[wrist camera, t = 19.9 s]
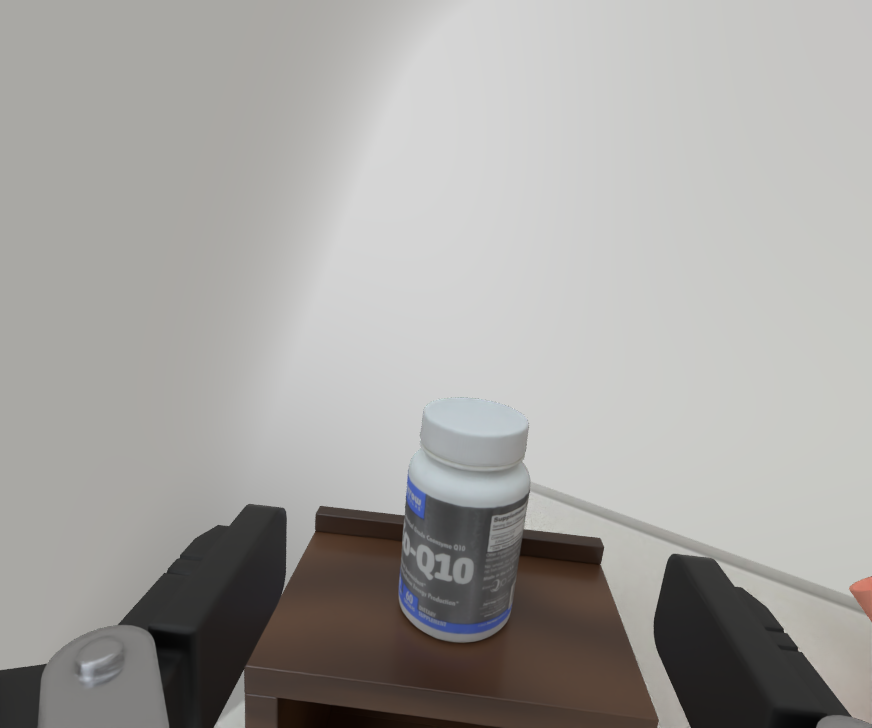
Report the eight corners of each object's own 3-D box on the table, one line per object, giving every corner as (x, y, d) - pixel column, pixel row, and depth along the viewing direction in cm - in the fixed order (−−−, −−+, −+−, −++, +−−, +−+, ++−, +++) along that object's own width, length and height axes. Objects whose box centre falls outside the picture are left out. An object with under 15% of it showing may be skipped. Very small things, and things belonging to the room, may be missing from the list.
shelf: (599, 965, 20) (665, 695, 17) (246, 910, 21) (243, 641, 18) (562, 743, 29) (600, 537, 26) (313, 710, 30) (319, 505, 26)
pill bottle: (373, 601, 21) (385, 408, 19) (446, 553, 25) (463, 386, 23) (465, 669, 18) (491, 450, 16) (533, 604, 22) (562, 417, 20)
